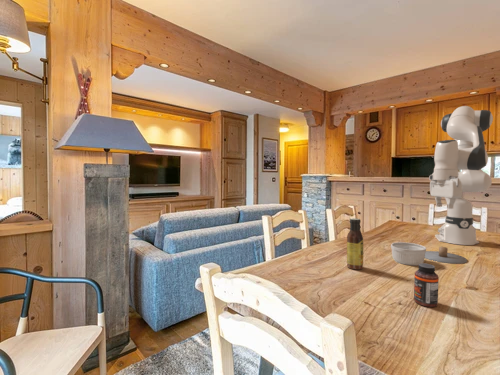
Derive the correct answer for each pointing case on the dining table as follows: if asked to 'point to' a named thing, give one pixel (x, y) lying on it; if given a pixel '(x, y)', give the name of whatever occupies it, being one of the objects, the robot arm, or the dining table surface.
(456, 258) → the lid
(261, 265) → the dining table surface
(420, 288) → the supplement bottle
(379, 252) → the dining table surface
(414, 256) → the ramekin
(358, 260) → the sauce bottle
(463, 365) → the dining table surface
